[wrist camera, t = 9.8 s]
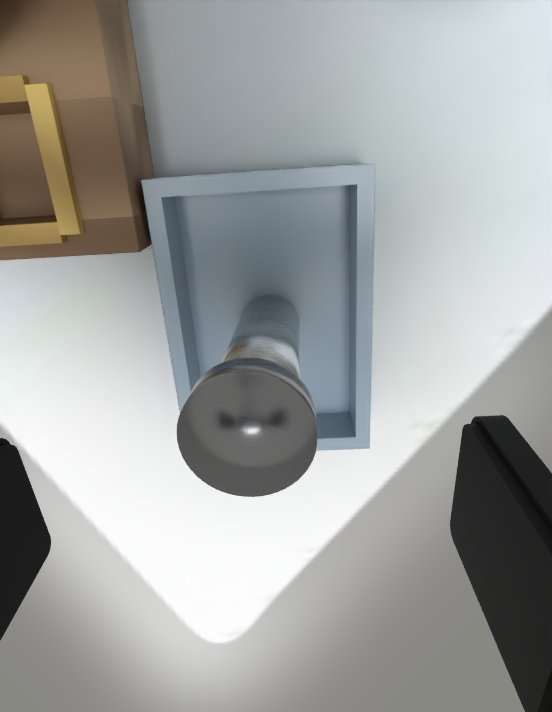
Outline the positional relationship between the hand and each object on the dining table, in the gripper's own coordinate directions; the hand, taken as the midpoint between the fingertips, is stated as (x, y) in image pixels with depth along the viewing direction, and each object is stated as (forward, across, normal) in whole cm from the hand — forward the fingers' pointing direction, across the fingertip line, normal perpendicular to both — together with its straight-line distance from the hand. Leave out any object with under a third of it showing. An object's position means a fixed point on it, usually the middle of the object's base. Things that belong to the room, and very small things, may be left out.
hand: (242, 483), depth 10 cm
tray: (+15, 0, +2) cm, 15 cm away
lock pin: (+14, 0, +2) cm, 14 cm away
